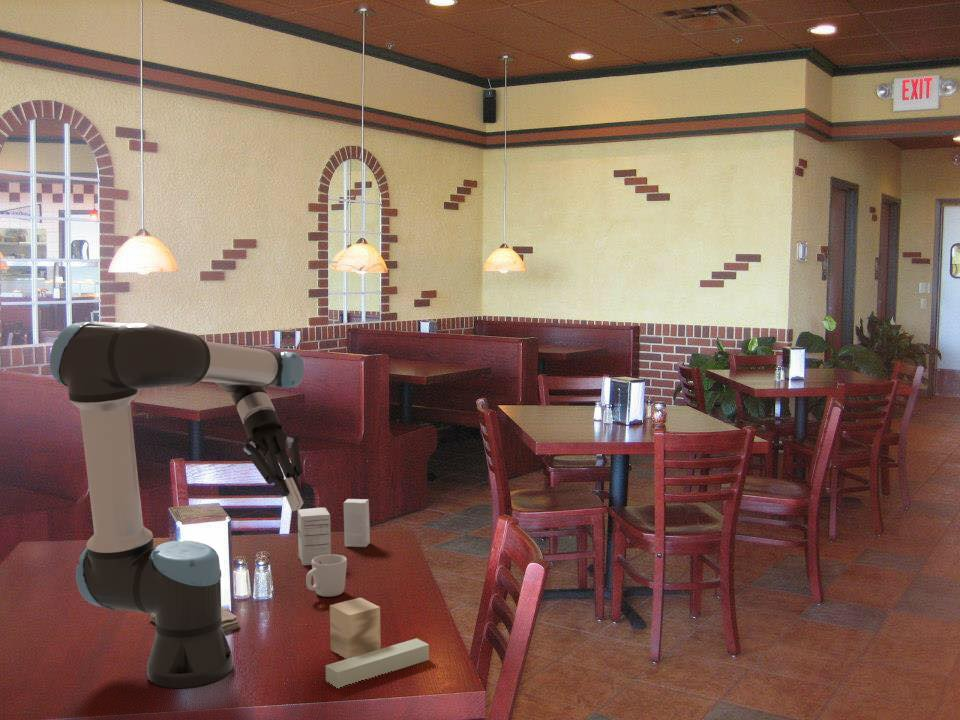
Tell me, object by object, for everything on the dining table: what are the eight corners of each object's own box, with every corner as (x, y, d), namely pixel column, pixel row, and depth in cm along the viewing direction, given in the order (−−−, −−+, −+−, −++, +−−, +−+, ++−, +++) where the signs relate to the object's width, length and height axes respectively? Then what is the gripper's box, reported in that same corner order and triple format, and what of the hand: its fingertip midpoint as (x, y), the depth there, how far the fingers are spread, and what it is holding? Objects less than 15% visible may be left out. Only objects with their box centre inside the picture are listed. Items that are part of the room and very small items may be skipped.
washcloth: (193, 645, 195) (193, 630, 195) (146, 623, 207) (146, 609, 207) (244, 629, 204) (244, 614, 203) (196, 608, 216) (196, 594, 215)
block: (349, 661, 186) (348, 615, 185) (330, 650, 192) (329, 605, 191) (380, 652, 191) (380, 607, 190) (361, 641, 196) (360, 597, 195)
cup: (320, 605, 216) (319, 570, 215) (295, 598, 221) (294, 563, 220) (354, 592, 224) (354, 558, 224) (330, 585, 229) (329, 551, 228)
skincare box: (370, 543, 263) (369, 499, 262) (366, 547, 259) (365, 503, 258) (348, 542, 264) (347, 498, 263) (343, 546, 260) (343, 502, 258)
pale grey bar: (337, 688, 174) (336, 672, 174) (325, 681, 177) (325, 665, 177) (428, 659, 187) (428, 644, 186) (416, 653, 190) (416, 638, 190)
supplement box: (298, 557, 251) (297, 508, 249) (327, 554, 253) (326, 506, 251) (301, 566, 244) (300, 516, 242) (331, 563, 246) (330, 513, 244)
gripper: (281, 425, 224) (319, 511, 212) (226, 431, 215) (263, 522, 204) (292, 404, 219) (331, 492, 208) (236, 410, 211) (274, 502, 200)
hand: (297, 506), depth 206 cm, fingers closed
